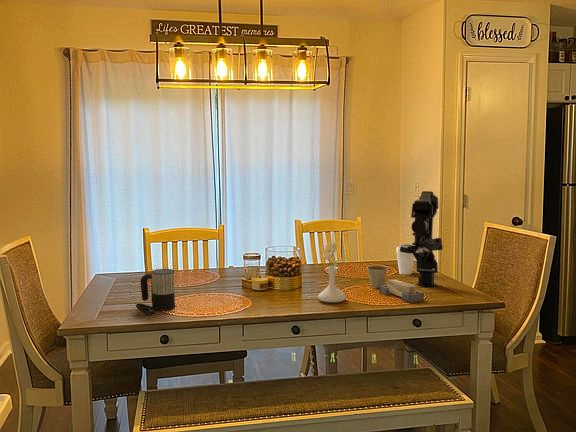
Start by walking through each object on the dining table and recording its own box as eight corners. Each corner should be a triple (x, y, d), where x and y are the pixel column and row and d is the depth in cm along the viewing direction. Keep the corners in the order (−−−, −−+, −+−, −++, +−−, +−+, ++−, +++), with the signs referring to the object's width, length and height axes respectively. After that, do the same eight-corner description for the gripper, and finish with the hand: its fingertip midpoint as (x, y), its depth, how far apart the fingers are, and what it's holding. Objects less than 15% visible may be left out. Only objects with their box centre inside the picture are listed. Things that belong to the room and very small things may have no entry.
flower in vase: (316, 298, 235) (316, 238, 232) (343, 297, 235) (343, 238, 233) (320, 306, 222) (320, 243, 219) (348, 305, 222) (349, 243, 220)
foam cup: (392, 273, 284) (392, 247, 282) (404, 270, 289) (405, 245, 288) (406, 276, 276) (406, 249, 275) (419, 273, 281) (419, 247, 280)
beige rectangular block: (394, 291, 242) (394, 279, 242) (416, 298, 230) (416, 286, 230) (387, 292, 241) (387, 280, 240) (408, 299, 228) (408, 287, 228)
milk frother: (177, 304, 226) (176, 268, 225) (172, 315, 211) (171, 276, 209) (141, 305, 225) (139, 269, 224) (134, 316, 210) (132, 277, 208)
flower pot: (387, 289, 249) (387, 270, 248) (366, 288, 251) (366, 269, 250) (388, 284, 258) (388, 266, 257) (367, 283, 260) (367, 265, 259)
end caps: (393, 291, 246) (393, 283, 245) (423, 300, 229) (423, 293, 229) (379, 293, 242) (379, 285, 242) (409, 303, 225) (409, 295, 225)
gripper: (417, 234, 222) (417, 273, 224) (452, 231, 231) (451, 268, 233) (399, 231, 232) (398, 268, 234) (433, 228, 241) (432, 264, 242)
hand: (421, 267), depth 235 cm, fingers closed
